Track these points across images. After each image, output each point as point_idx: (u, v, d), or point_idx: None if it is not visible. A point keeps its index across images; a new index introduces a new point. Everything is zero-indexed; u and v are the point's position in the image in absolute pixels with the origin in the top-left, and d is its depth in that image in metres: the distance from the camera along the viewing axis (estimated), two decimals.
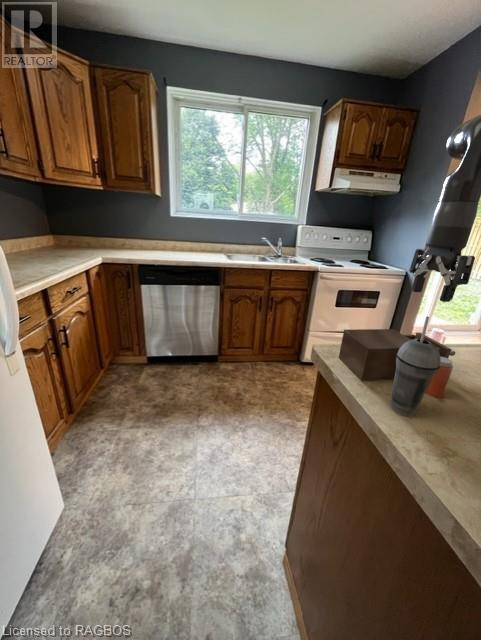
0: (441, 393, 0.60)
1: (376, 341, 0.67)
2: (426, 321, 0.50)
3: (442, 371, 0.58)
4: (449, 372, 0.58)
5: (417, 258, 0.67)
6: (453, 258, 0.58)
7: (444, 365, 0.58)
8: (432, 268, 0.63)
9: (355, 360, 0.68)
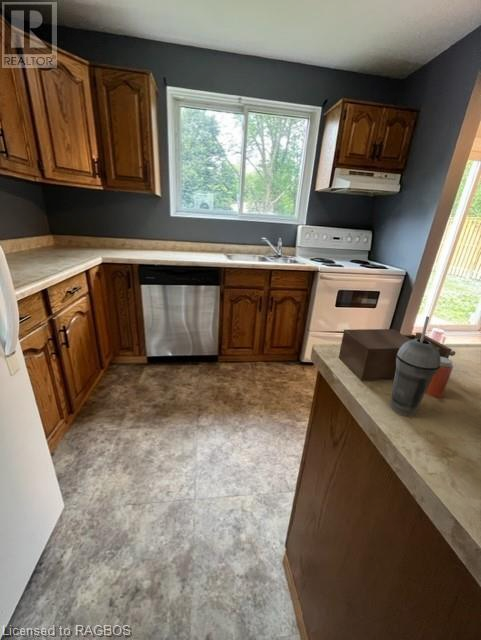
0: (441, 393, 0.60)
1: (376, 341, 0.67)
2: (426, 321, 0.50)
3: (442, 371, 0.58)
4: (449, 372, 0.58)
5: None
6: None
7: (444, 365, 0.58)
8: None
9: (355, 360, 0.68)
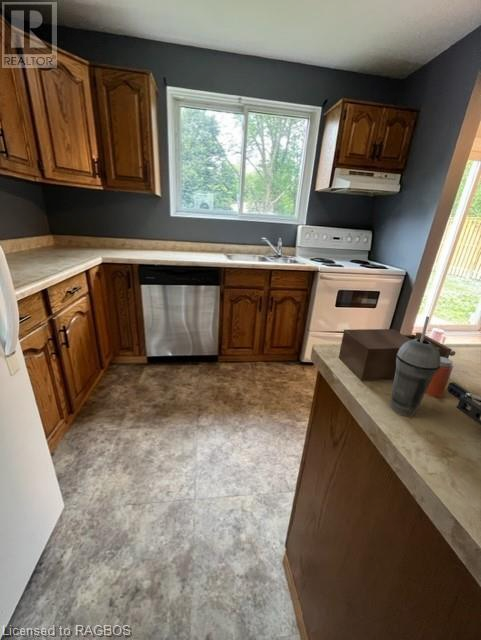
0: (441, 393, 0.60)
1: (376, 341, 0.67)
2: (426, 321, 0.50)
3: (442, 371, 0.58)
4: (449, 372, 0.58)
5: None
6: None
7: (444, 365, 0.58)
8: None
9: (355, 360, 0.68)
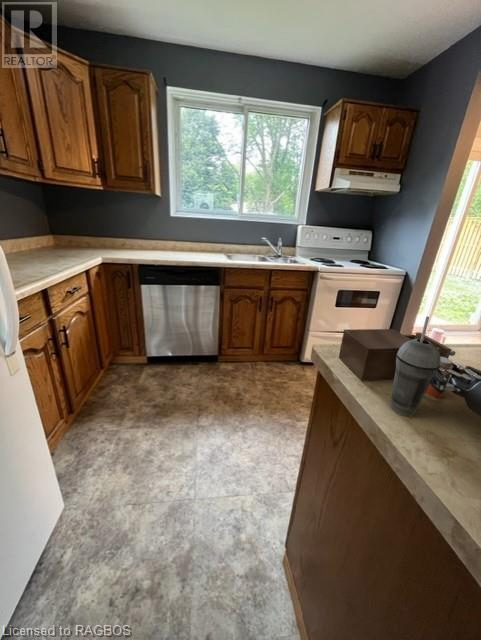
0: (441, 393, 0.60)
1: (376, 341, 0.67)
2: (426, 321, 0.50)
3: None
4: None
5: None
6: None
7: (444, 365, 0.58)
8: None
9: (355, 360, 0.68)
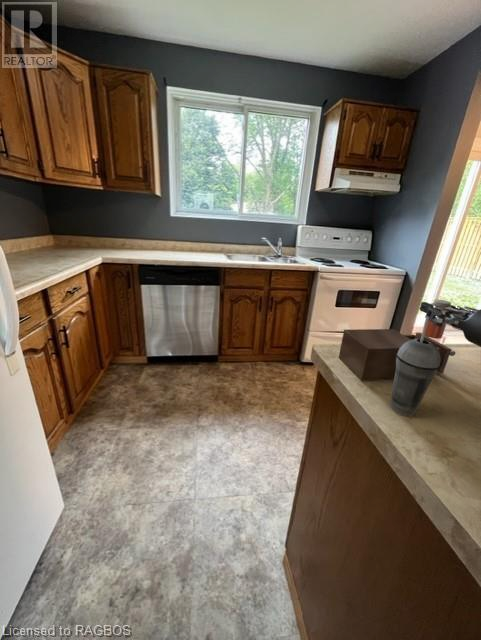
0: (440, 334, 0.63)
1: (376, 341, 0.67)
2: (426, 321, 0.50)
3: (441, 311, 0.61)
4: None
5: None
6: None
7: (443, 305, 0.61)
8: None
9: (355, 360, 0.68)
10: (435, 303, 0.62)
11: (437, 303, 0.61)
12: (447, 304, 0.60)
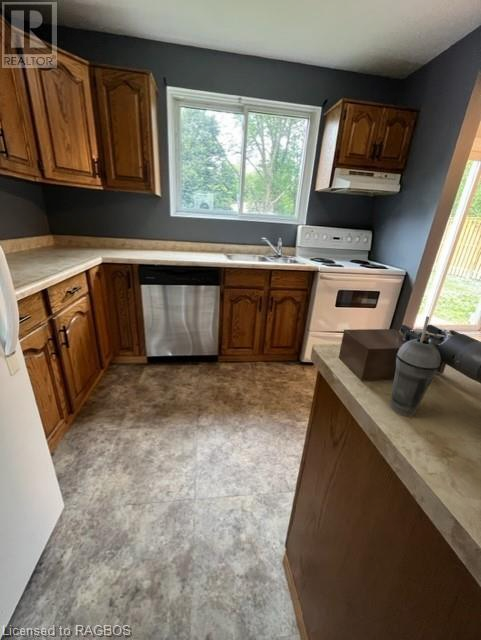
0: None
1: (376, 341, 0.67)
2: (426, 321, 0.50)
3: None
4: None
5: None
6: None
7: None
8: None
9: (355, 360, 0.68)
10: None
11: None
12: None
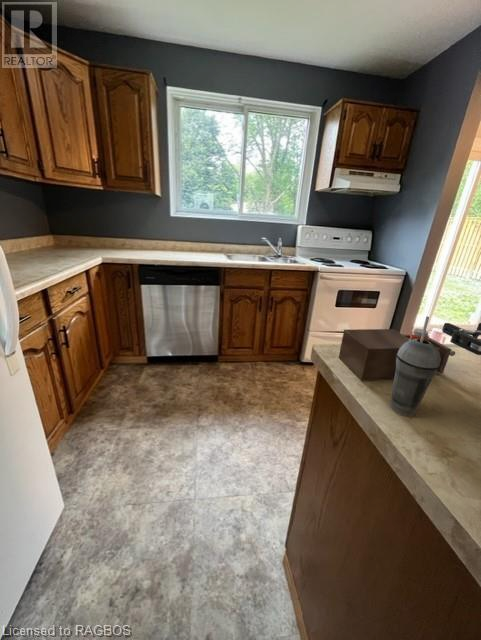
0: None
1: (376, 341, 0.67)
2: (426, 321, 0.50)
3: None
4: None
5: None
6: None
7: (421, 335, 0.69)
8: None
9: (355, 360, 0.68)
10: (414, 332, 0.70)
11: (416, 332, 0.69)
12: (425, 334, 0.68)
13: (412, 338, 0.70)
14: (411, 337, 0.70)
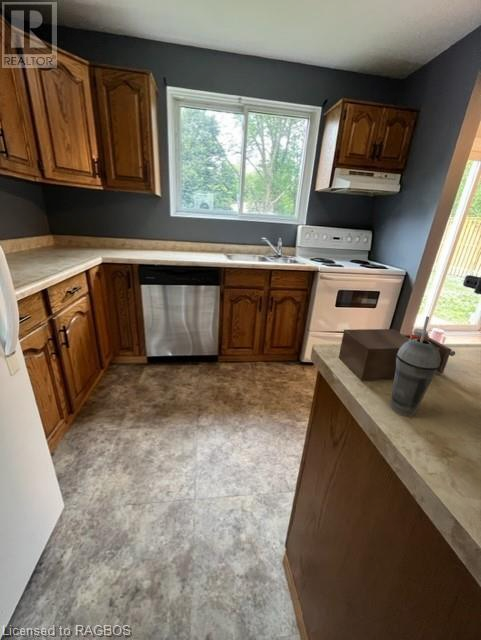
0: None
1: (376, 341, 0.67)
2: (426, 321, 0.50)
3: None
4: None
5: None
6: None
7: (421, 335, 0.69)
8: None
9: (355, 360, 0.68)
10: (414, 332, 0.70)
11: (416, 332, 0.69)
12: (425, 334, 0.68)
13: (412, 338, 0.70)
14: (411, 337, 0.70)
